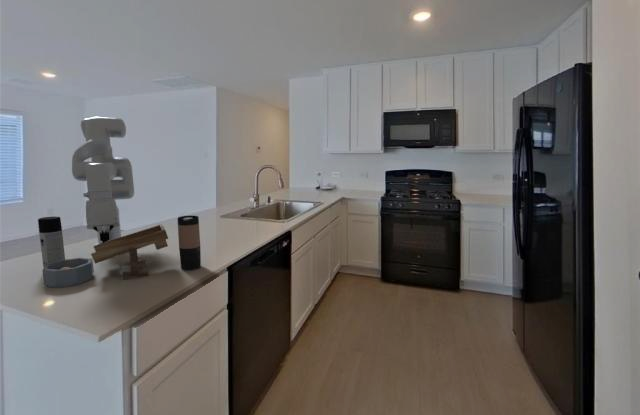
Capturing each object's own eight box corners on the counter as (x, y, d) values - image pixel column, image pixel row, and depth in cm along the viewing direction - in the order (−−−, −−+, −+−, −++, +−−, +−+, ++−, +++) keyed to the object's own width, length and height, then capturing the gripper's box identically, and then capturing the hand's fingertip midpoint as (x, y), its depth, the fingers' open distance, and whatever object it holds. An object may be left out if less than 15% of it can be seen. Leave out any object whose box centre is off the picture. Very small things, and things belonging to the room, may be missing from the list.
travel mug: (193, 263, 132) (191, 214, 129) (205, 266, 128) (202, 216, 124) (176, 268, 126) (173, 217, 123) (188, 272, 121) (184, 220, 118)
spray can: (52, 266, 127) (45, 216, 124) (70, 265, 128) (64, 216, 124) (39, 272, 120) (32, 219, 117) (58, 271, 121) (52, 219, 118)
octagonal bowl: (50, 277, 115) (47, 261, 114) (94, 271, 122) (93, 255, 121) (42, 291, 104) (39, 273, 103) (92, 283, 111) (90, 266, 110)
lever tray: (101, 256, 129) (95, 240, 127) (165, 234, 140) (160, 220, 138) (98, 271, 112) (91, 254, 110) (171, 245, 123) (165, 229, 121)
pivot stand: (122, 265, 128) (120, 239, 127) (145, 262, 133) (143, 237, 131) (122, 280, 113) (119, 251, 112) (148, 276, 117) (145, 248, 116)
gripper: (74, 198, 116) (80, 247, 119) (123, 195, 124) (127, 242, 127) (77, 195, 123) (82, 242, 126) (123, 193, 130) (127, 237, 133)
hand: (105, 242), depth 126 cm, fingers closed
